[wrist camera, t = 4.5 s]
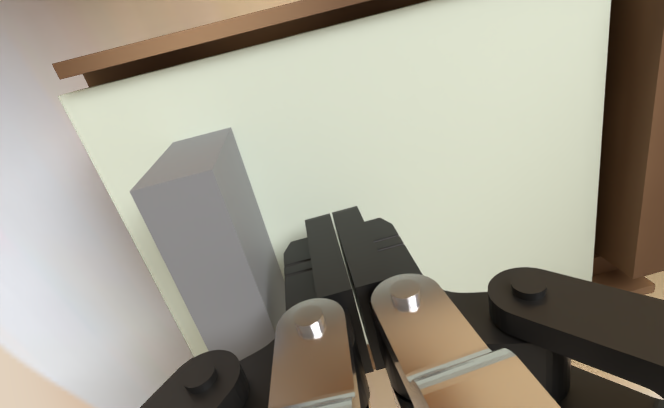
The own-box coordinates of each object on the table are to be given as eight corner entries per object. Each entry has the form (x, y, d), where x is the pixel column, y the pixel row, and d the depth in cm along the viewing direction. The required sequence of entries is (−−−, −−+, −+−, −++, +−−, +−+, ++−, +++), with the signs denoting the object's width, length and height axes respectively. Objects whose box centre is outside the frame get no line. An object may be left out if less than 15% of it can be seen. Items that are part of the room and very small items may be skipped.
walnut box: (550, -56, 15) (728, -109, 9) (548, 217, 20) (661, 297, 14) (137, 49, 15) (44, 65, 9) (241, 300, 20) (227, 417, 14)
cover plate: (596, -43, 11) (768, -80, 7) (580, 273, 15) (679, 352, 11) (68, 92, 10) (-47, 129, 7) (212, 374, 15) (191, 490, 11)
